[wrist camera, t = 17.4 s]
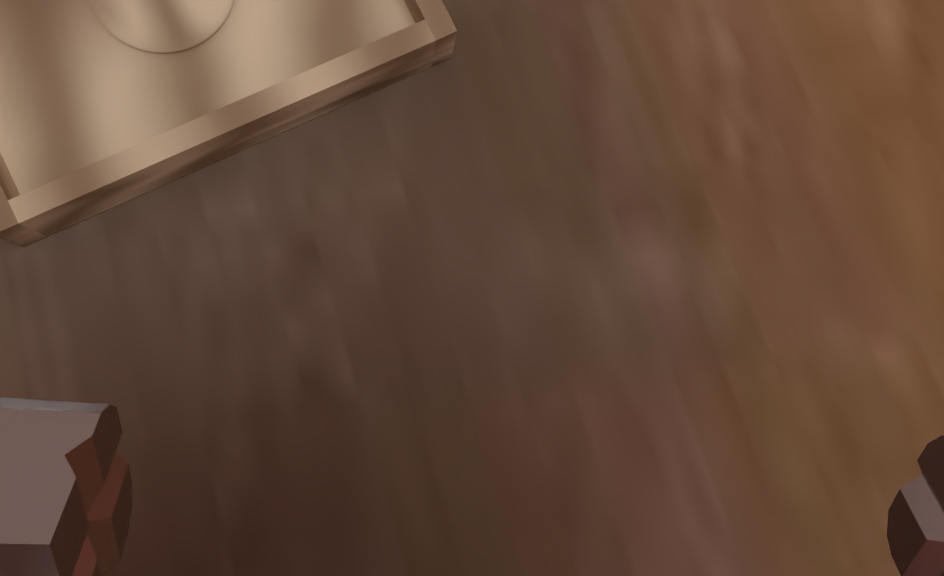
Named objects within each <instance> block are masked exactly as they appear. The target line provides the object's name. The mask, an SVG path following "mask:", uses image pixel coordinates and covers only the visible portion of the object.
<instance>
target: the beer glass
mask: <svg viewBox="0 0 944 576" xmlns="http://www.w3.org/2000/svg"><path fill="white" fill-rule="evenodd" d="M90 2H91V5H92V8H93V10H94V12H95V14H96V16H97V17H98V19H99V20H100V22H101V23H102V25H103V26H104V27H105V28H106V29H107V30H108V31H109V32H110V33H111V34H112V35H113V36H115V37H116V38H117V39H119V40H120V41H122V42H124V43H126V44H127V45H130V46H132V47H134V48H137V49H140V50H143V51H148V52H154V53H172V52H178V51H183V50H186V49H189V48H192V47H194V46H196V45H198V44H200V43H202V42H204V41H205V40H207V39H208V38H209V37H211V36H212V35H213V34H214V33H215V32H216V31H217V30H218V29H219V28H220V27H221V25H222V24H223V23H224V21H225V20H226V18H227V16H228V14H229V12H230V10H231V7H232V4H233V0H90Z"/></svg>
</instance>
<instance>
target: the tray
mask: <svg viewBox="0 0 944 576" xmlns="http://www.w3.org/2000/svg"><path fill="white" fill-rule="evenodd" d="M456 34H457V30H456V28H455V26H454V24H453V22H452V20H451V18H450V16H449V14H448V12H447V10H446V8H445V6H444V4H443V2H442V0H233V4H232V7H231V10H230V12H229V14H228V16H227V18H226V20H225V21H224V23H223V24H222V25H221V27H220V28H219V29H218V30H217V31H216V32H215V33H214V34H213V35H212V36H211V37H209V38H208V39H207V40H205V41H204V42H202V43H200V44H198V45H196V46H194V47H192V48H189V49H186V50H183V51H178V52H172V53H154V52H148V51H143V50H140V49H137V48H134V47H132V46H130V45H127V44H126V43H124V42H122V41H120V40H119V39H117V38H116V37H115V36H113V35H112V34H111V33H110V32H109V31H108V30H107V29H106V28H105V27H104V26H103V25H102V23H101V22H100V20H99V19H98V17H97V16H96V14H95V12H94V10H93V8H92V5H91V2H90V0H0V237H1V238H3V239H6V240H8V241H11V242H13V243H16V244H18V245H21V246H23V247H25V246H27V245H29V244H31V243H34V242H36V241H38V240H40V239H43V238H45V237H47V236H49V235H52V234H54V233H56V232H58V231H61V230H63V229H65V228H67V227H70V226H72V225H74V224H76V223H79V222H81V221H83V220H86V219H88V218H90V217H92V216H95V215H97V214H99V213H101V212H104V211H106V210H108V209H110V208H113V207H115V206H117V205H119V204H122V203H124V202H126V201H128V200H131V199H133V198H135V197H137V196H140V195H142V194H144V193H147V192H149V191H151V190H153V189H156V188H158V187H160V186H162V185H165V184H167V183H169V182H171V181H174V180H176V179H178V178H180V177H183V176H185V175H187V174H189V173H192V172H194V171H196V170H198V169H201V168H203V167H205V166H207V165H210V164H212V163H214V162H217V161H219V160H221V159H223V158H226V157H228V156H230V155H232V154H235V153H237V152H239V151H241V150H244V149H246V148H248V147H250V146H253V145H255V144H257V143H259V142H262V141H264V140H266V139H268V138H271V137H273V136H275V135H278V134H280V133H282V132H284V131H287V130H289V129H291V128H293V127H296V126H298V125H300V124H302V123H305V122H307V121H309V120H311V119H314V118H316V117H318V116H320V115H323V114H325V113H327V112H329V111H332V110H334V109H336V108H339V107H341V106H343V105H345V104H348V103H350V102H352V101H354V100H357V99H359V98H361V97H363V96H366V95H368V94H370V93H372V92H375V91H377V90H379V89H381V88H384V87H386V86H388V85H390V84H393V83H395V82H397V81H399V80H402V79H404V78H406V77H409V76H411V75H413V74H415V73H418V72H420V71H422V70H424V69H427V68H429V67H431V66H433V65H436V64H438V63H440V62H442V61H445V60H447V59H449V58H451V57H452V52H453V48H454V43H455V39H456Z"/></svg>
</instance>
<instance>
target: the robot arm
mask: <svg viewBox="0 0 944 576" xmlns="http://www.w3.org/2000/svg"><path fill="white" fill-rule="evenodd" d="M121 434H122V428H121V424H120V420H119V416H118V411H117V407H114V406H112V405H110V404H98V403H82V402H66V401H50V400H34V399H18V398H2V397H0V576H102V575H104V574H105V573H106V572H107V571H108V570H109V569H110V568H112V567H113V566H114V565H115V564H116V563H117V562H119V561H120V559H121V555H122V552H123V548H124V545H125V541H126V538H127V534H128V528H129V521H130V514H131V507H132V481H131V475H130V469H129V464H128V463H127V462H126V461H125V460H123V459H122V458H121V457H120V456H119V455H117V454H116V453H115V452H116V449H117V446H118V443H119V440H120V437H121ZM917 461H918V464H919V467H920V470H921V472H922V475H921V476H920V477H918V478H916V479H915V480H913V481H912V482H910V483H908V484H907V485H905V486H904V487H902V488H900V490H899V491H898V493H897V495H896V497H895V499H894V501H893V503H892V505H891V506H890V508H889V510H888V526H887V538H888V542H889V547H890V551H891V555H892V558H893V560H894V562H895V564H896V566H897V568H898V570H899V573H900V575H901V576H944V436H940V437H938V438H936V439H935V440H933V441H931V442H930V443H928V444H927V445H926V447H925V449H924V450H923V452H922V453H921V455H920V457H919V458H918V460H917Z"/></svg>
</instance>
